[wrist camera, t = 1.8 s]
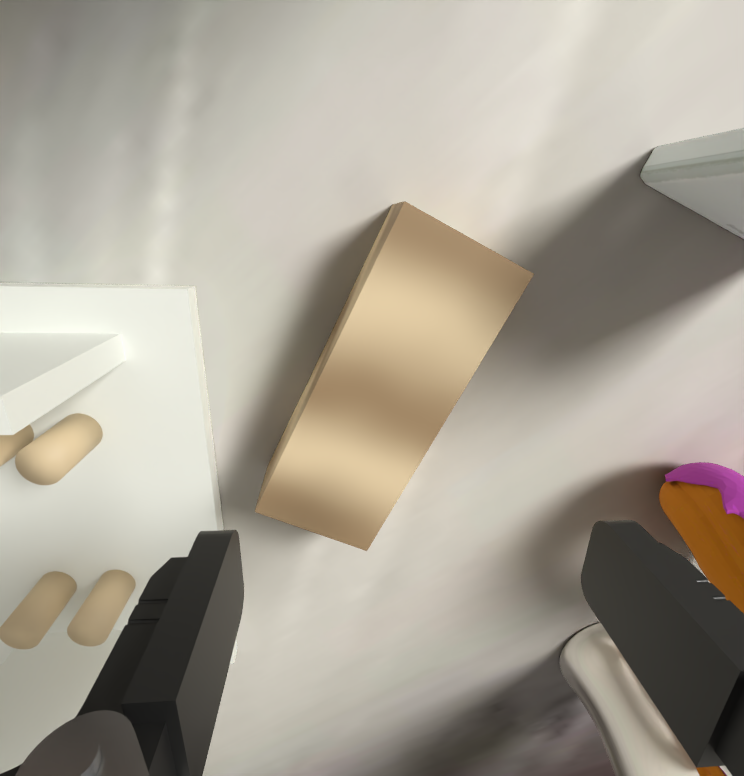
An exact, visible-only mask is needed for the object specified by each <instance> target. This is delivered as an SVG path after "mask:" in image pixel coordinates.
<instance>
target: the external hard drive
mask: <svg viewBox="0 0 744 776" xmlns="http://www.w3.org/2000/svg"><path fill="white" fill-rule="evenodd" d="M640 175H641V179H642V180H643V181H644V183H645V184H647V185H648V186H650V187H652V188H653V189H655V190H657V191H659V192H660V193H662V194H664V195H666V196H667V197H669V198H671V199H673V200H675V201H677V202H678V203H680V204H682V205H684V206H685V207H687V208H689V209H691V210H693V211H694V212H696V213H698V214H700V215H702V216H703V217H705V218H707V219H708V220H710V221H712V222H714V223H716V224H717V225H719V226H721V227H722V228H724V229H726V230H728V231H730V232H732V233H733V234H735V235H737V236H739V237H741V238H742V239H744V128H741V129H736V130H731V131H727V132H722V133H717V134H712V135H708V136H703V137H698V138H694V139H689V140H684V141H680V142H675V143H670V144H666V145H661V146H657V147H656V148H655V149H654V150H653V152H652V153H651V155H650V157H649V159H648V160H647V162H646V163H645V165H644V167H643V169H642V171H641V174H640Z"/></svg>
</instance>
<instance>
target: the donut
mask: <svg viewBox="0 0 744 776" xmlns="http://www.w3.org/2000/svg"><path fill="white" fill-rule="evenodd" d="M665 478H666V481H667V482H665V483H664V484H663V485H662V487H661V489H660V493H659V500H660V504H661V507H662V509H663V511H664V513H665V514H666V515H667V517H668V518H669V519H670V521H671V522H672V524H673V525H674V526H675V528H676V529H677V531H678V532H679V534H680V535H681V537H682V538H683V540H684V541H685V543H686V544H687V546H688V547H689V549H690V550H691V552H692V554H693V555H694V557H695V559H696V561H697V563H698V565H699V567H700V568H701V570H702V571H703V573H704V574H705V576H706V577H707V579H708V580H709V581H710V583H712V584H713V585H714V586H715V587H716V588H717V589H719V590H720V591H721V592H722V593H723V594H724V595H725V599H726V600H730V601H731V602H732V603H733V604H734V605H735V606H736V607H737V608H738V609H739V610H740V611H741V612H743V613H744V476H742V475H740V474H739V473H737V472H735V471H734V470H732V469H729V468H726V467H723V466H720V465H717V464H713V463H701V462H699V463H690V464H685V465H682V466H680V467H678V468H676V469H674V470H673V471H671V472H670V473H668V474H666V475H665Z"/></svg>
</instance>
